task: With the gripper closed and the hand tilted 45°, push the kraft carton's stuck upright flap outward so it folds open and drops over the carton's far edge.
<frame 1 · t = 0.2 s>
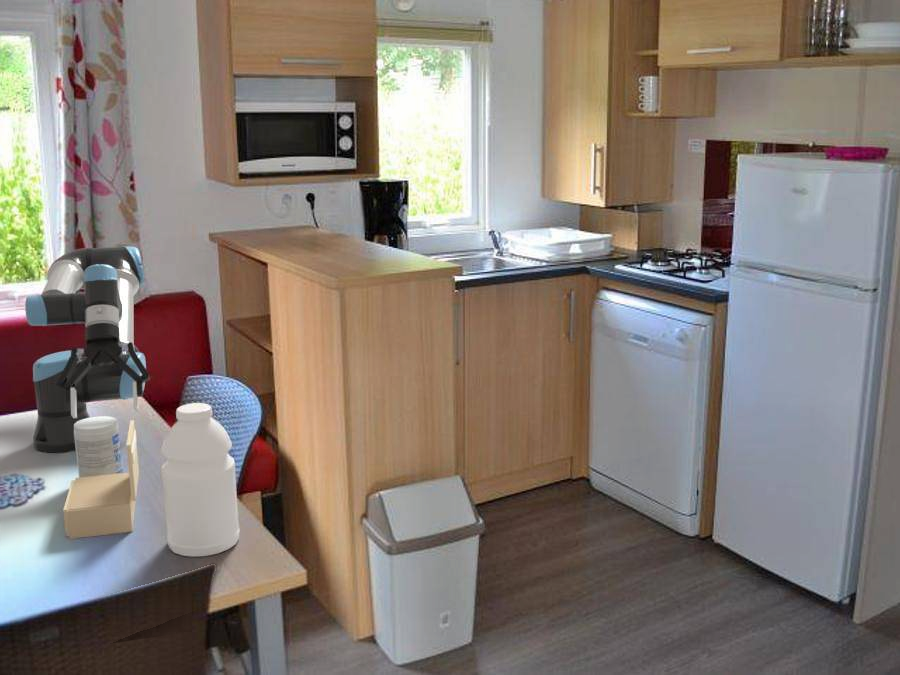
hand: (105, 413, 216), 16 cm above the table, tool tilted 35°, fingers open, 13 cm apart
carton: (104, 517, 199), on the table
bottle: (204, 542, 188), on the table
supplement tub: (101, 483, 217), on the table
flap: (133, 459, 198), point 12 cm above the table, hinge at 0.0°
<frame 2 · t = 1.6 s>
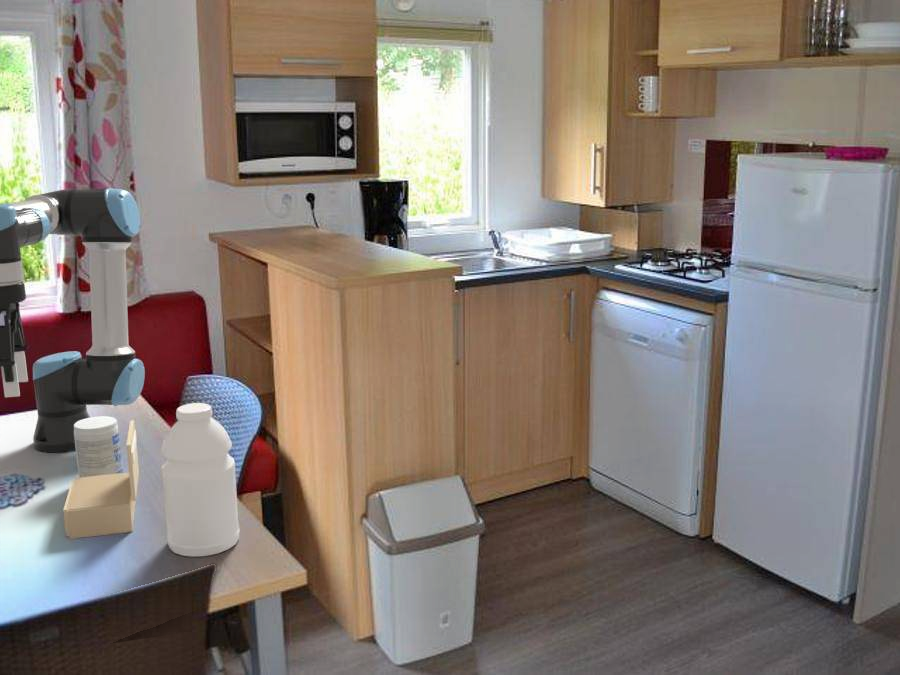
hand: (16, 388, 194), 28 cm above the table, tool pointing down, fingers open, 10 cm apart
nothing on the table moved.
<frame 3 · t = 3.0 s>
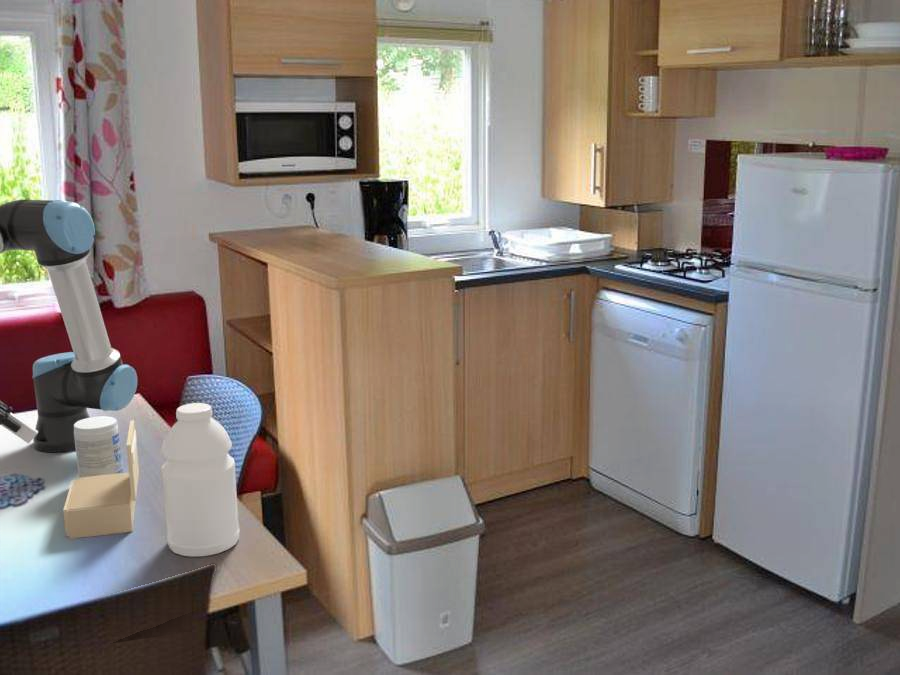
hand: (33, 437, 190), 20 cm above the table, tool tilted 45°, fingers closed
nothing on the table moved.
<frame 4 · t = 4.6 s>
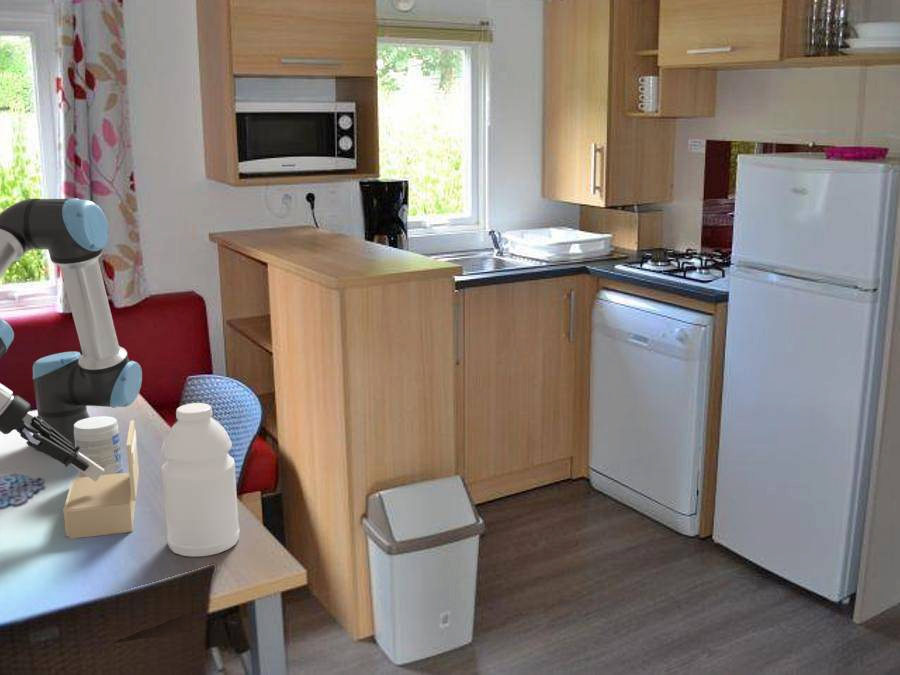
hand: (99, 475, 197), 10 cm above the table, tool tilted 45°, fingers closed
nothing on the table moved.
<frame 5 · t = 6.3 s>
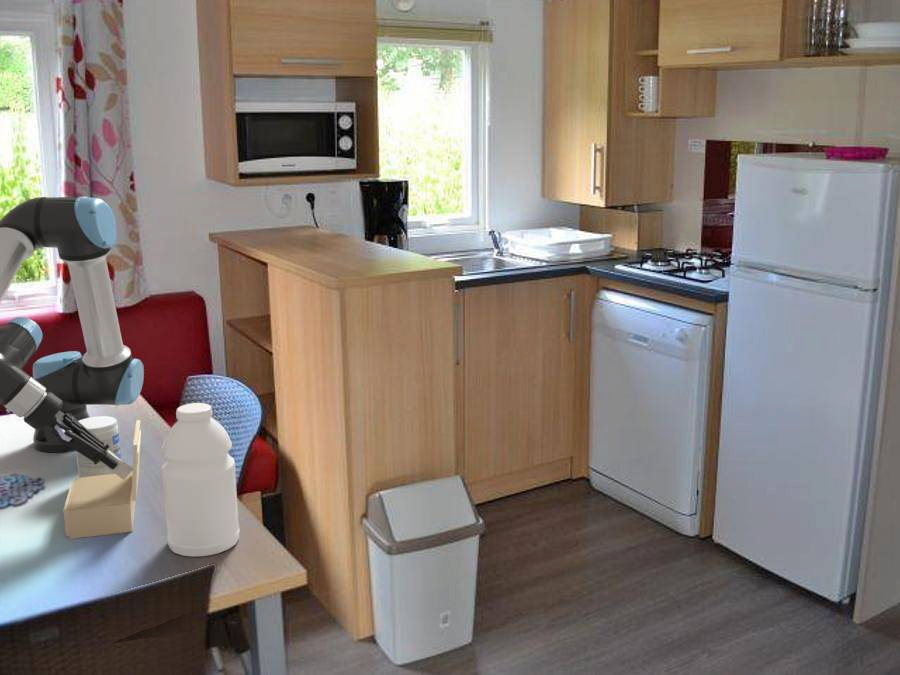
hand: (128, 474, 198), 9 cm above the table, tool tilted 45°, fingers closed
flap: (136, 459, 198), point 12 cm above the table, hinge at 6.1°, touching gripper
everything else where it was.
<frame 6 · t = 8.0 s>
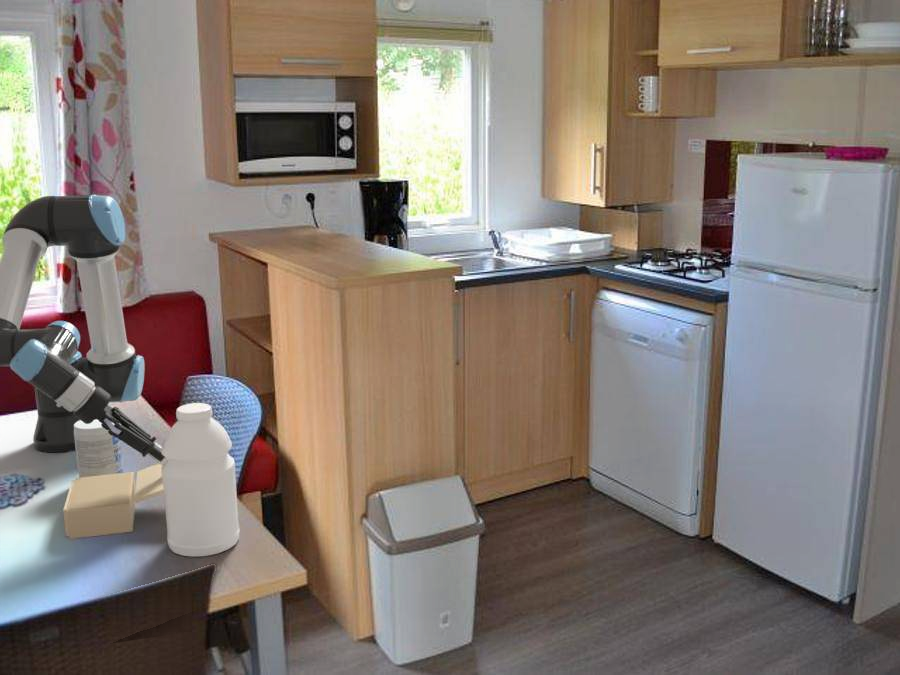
hand: (175, 465, 201), 10 cm above the table, tool tilted 45°, fingers closed
flap: (164, 477, 201), point 8 cm above the table, hinge at 74.9°, touching gripper
everything else where it was.
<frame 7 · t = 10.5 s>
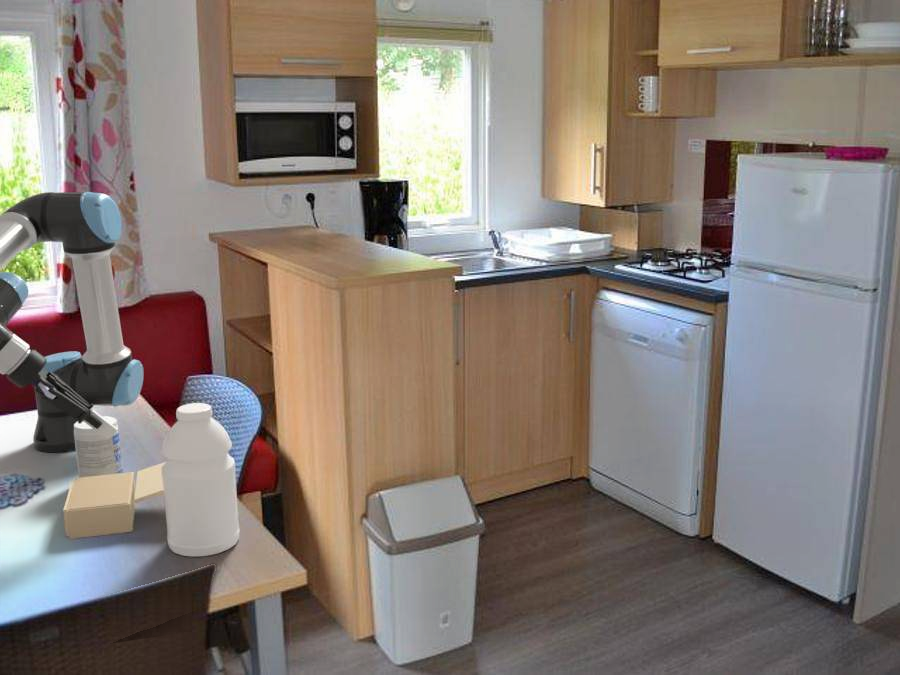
hand: (112, 433, 196), 18 cm above the table, tool tilted 45°, fingers closed
flap: (164, 477, 201), point 7 cm above the table, hinge at 76.1°
everything else where it was.
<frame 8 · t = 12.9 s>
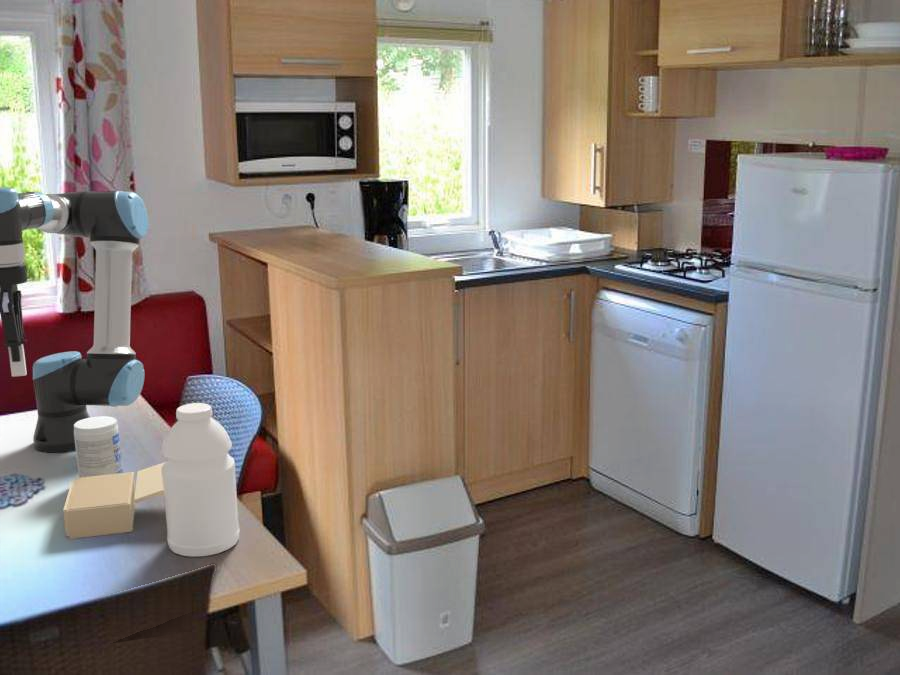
hand: (19, 375, 198), 29 cm above the table, tool pointing down, fingers closed
nothing on the table moved.
at the end: flap at +76° (first picture: +0°) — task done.
